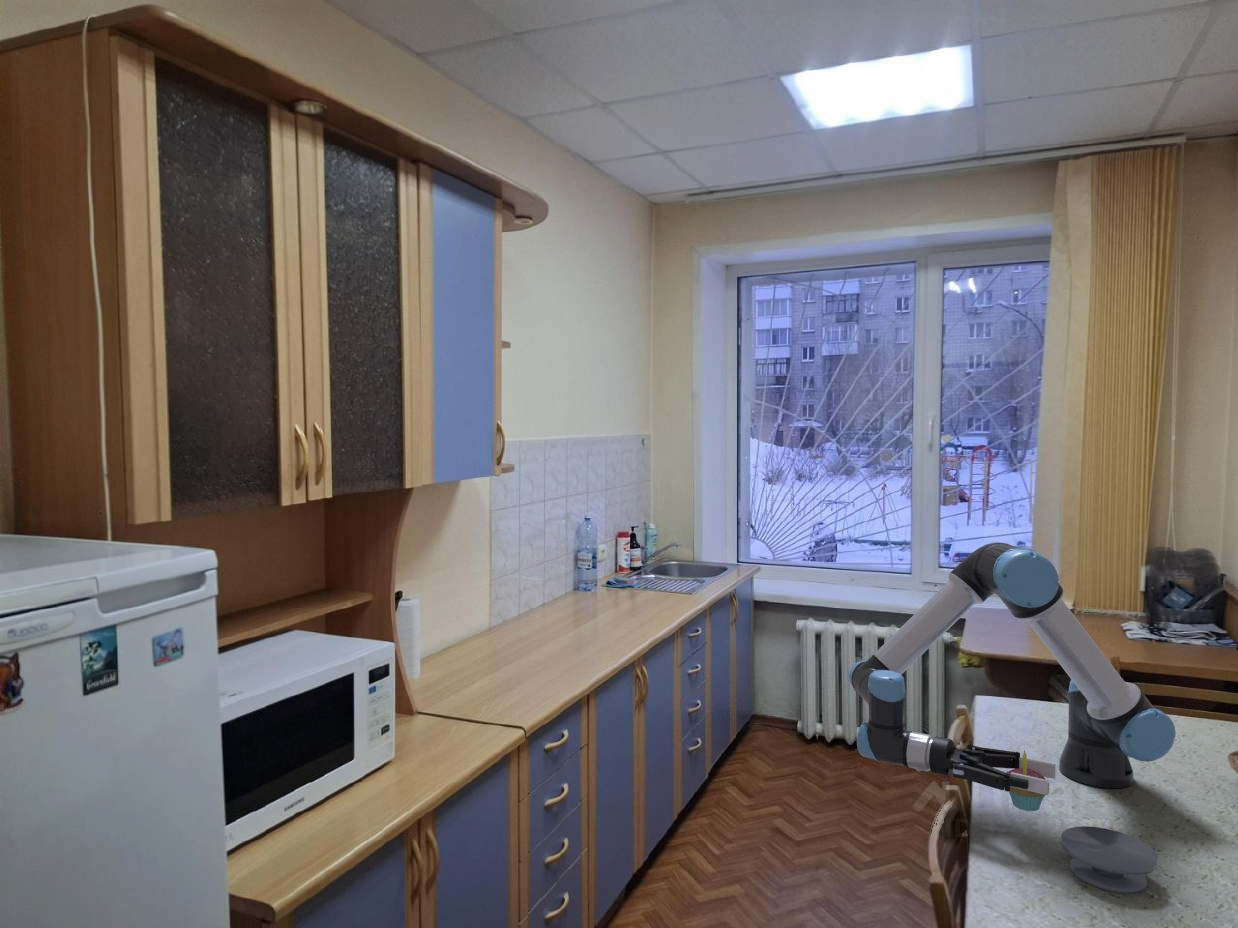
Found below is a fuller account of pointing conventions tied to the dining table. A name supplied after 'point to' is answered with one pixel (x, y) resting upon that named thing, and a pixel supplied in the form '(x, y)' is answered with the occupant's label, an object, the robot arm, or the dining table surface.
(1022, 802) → the cupcake
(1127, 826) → the dining table surface
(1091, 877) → the cake stand
